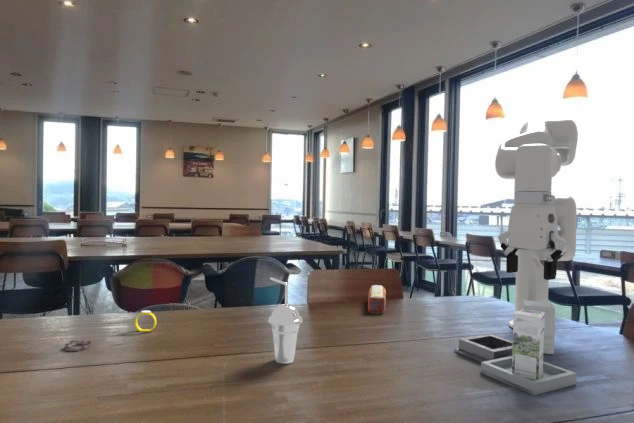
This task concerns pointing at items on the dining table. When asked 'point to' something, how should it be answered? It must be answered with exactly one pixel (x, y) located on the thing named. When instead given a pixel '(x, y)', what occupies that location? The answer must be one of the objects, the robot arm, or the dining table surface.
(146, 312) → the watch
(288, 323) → the cup with straw
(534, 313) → the syrup box
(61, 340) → the dining table surface
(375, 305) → the snack package
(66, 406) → the dining table surface
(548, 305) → the supplement box
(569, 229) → the robot arm
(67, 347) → the donut
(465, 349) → the socket
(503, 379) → the tray
